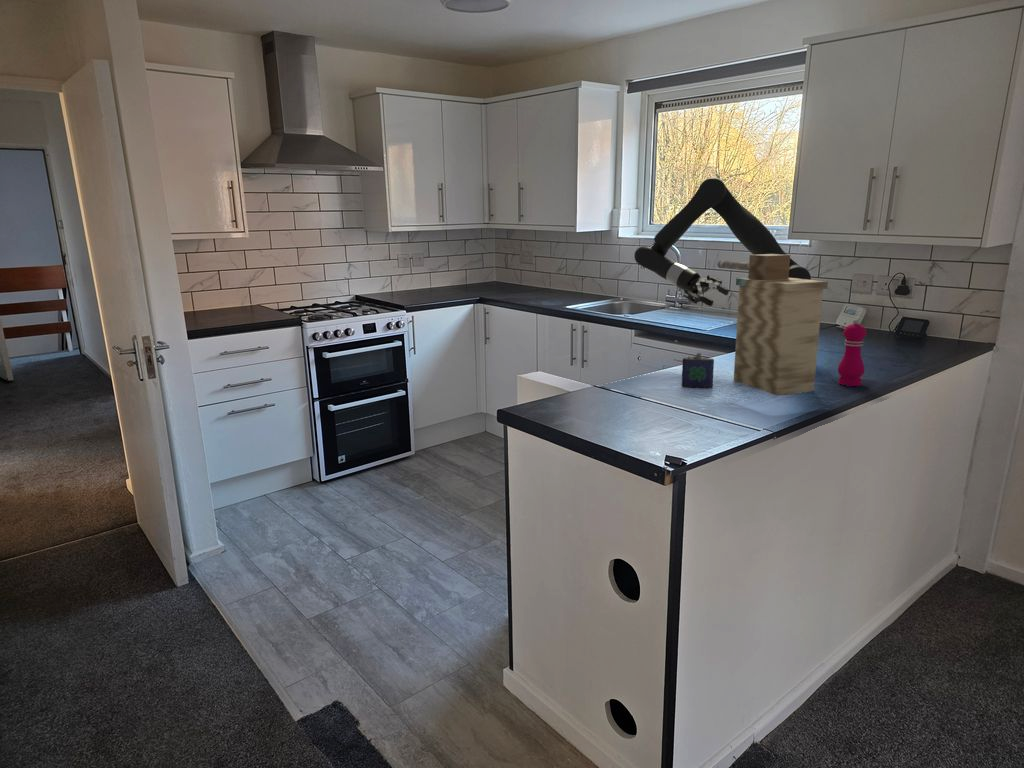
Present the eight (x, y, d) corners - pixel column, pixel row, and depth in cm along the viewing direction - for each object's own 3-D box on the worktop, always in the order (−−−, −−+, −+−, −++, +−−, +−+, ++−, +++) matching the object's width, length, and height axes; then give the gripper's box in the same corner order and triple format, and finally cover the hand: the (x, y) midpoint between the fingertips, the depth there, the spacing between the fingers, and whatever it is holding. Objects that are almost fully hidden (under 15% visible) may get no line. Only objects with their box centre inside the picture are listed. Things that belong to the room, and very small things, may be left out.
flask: (712, 386, 200) (714, 352, 198) (713, 389, 197) (714, 354, 195) (681, 385, 202) (682, 351, 200) (681, 388, 199) (682, 353, 197)
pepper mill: (830, 382, 201) (837, 318, 196) (848, 380, 204) (855, 316, 199) (850, 388, 194) (857, 321, 190) (868, 385, 197) (875, 319, 192)
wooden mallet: (709, 273, 217) (710, 252, 215) (730, 272, 219) (731, 251, 218) (765, 280, 191) (767, 255, 190) (788, 279, 194) (790, 254, 192)
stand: (730, 380, 207) (736, 278, 200) (767, 375, 212) (774, 276, 204) (778, 396, 187) (786, 284, 179) (817, 391, 191) (827, 281, 183)
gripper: (671, 277, 226) (709, 298, 217) (697, 260, 232) (735, 280, 223) (668, 294, 231) (705, 316, 222) (693, 277, 237) (730, 297, 229)
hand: (720, 298), depth 223 cm, fingers open, 8 cm apart
